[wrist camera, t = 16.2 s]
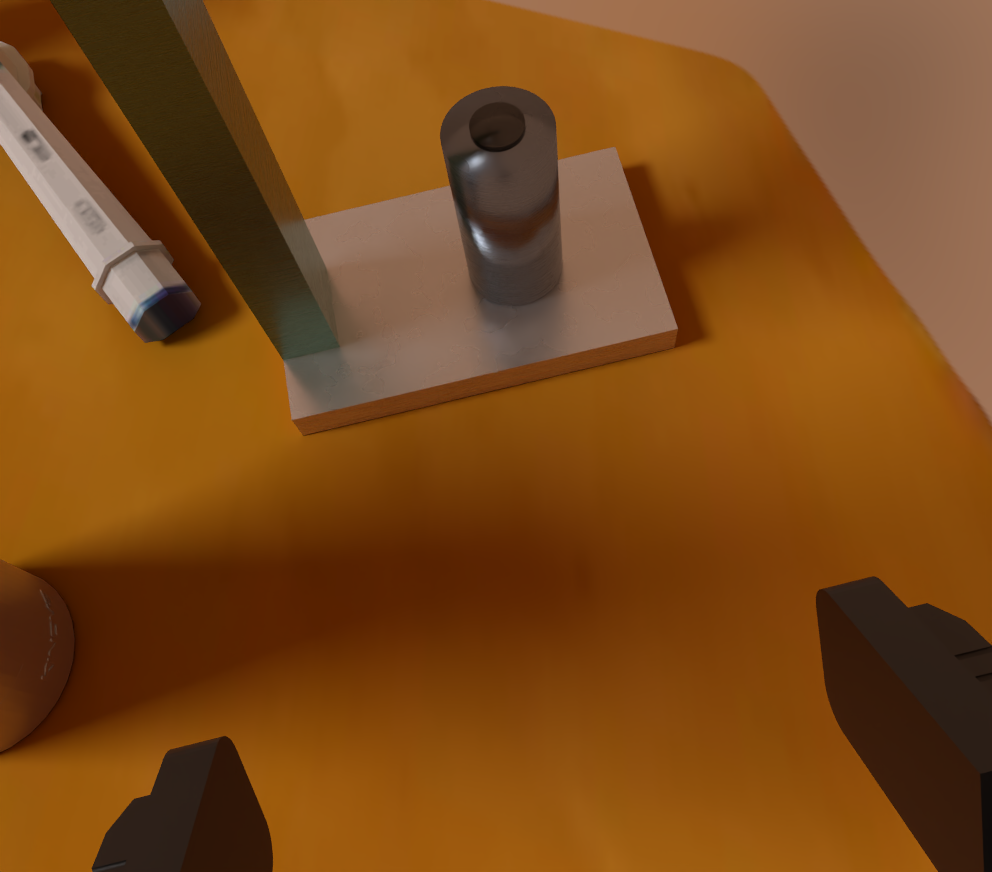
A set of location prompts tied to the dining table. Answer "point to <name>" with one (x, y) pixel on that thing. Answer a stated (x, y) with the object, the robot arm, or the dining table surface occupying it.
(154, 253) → the white handheld tool
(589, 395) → the dining table surface
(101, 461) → the dining table surface
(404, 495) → the dining table surface
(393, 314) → the press
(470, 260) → the cylinder
